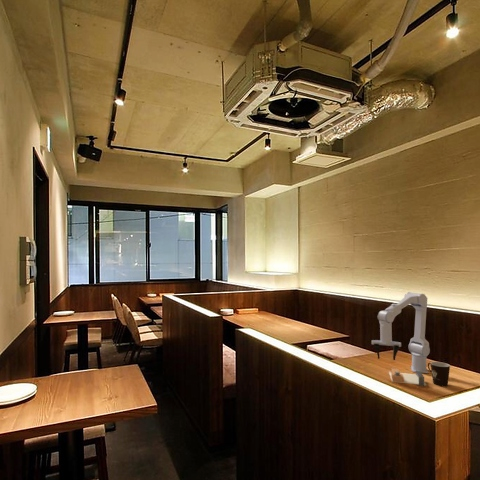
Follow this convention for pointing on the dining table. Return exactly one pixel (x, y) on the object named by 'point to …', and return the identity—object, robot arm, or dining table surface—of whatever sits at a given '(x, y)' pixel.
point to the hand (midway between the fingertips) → (386, 358)
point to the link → (396, 378)
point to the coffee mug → (440, 373)
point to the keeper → (420, 378)
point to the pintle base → (407, 378)
